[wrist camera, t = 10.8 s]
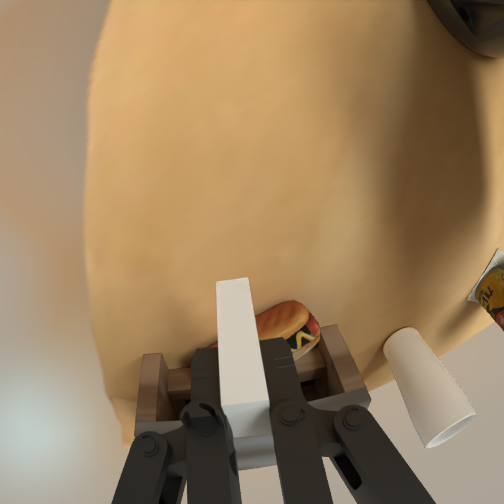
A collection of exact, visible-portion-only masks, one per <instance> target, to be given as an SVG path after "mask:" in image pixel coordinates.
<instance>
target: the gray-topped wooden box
mask: <svg viewBox="0 0 504 504" xmlns="http://www.w3.org/2000/svg"><path fill="white" fill-rule="evenodd" d="M294 362H295V366H296V370H297V374H298V377H299V381H300V382H304V381H308V380H313V379H315V383H314V385H310V386H305V387H301V389H302V393H303V396H304V398H305V400H306V401H307V403H308V404H310V405H311V406H312V407H314V408H317V409H321V410H330V411H339V410H340V409H341V408H343V407H344V406H348V405H360V406H362V407H365V408H366V409H368V407H369V404H370V402H371V398H370V395H369V393H368V391H367V388H366V386H365V384H364V382H363V380H362V377H361V375H360V373H359V371H358V369H357V367H356V364H355V362H354V360H353V358H352V356H351V354H350V351H349V349H348V347H347V345H346V343H345V341H344V339H343V337H342V335H341V333H340V330H339V328H338V326H337V325H332V326H328V327H323V328H320V340H319V341H318V347H313V348H312V349H311V350H309V351H308V352H307V353H306V354H305V355H303V356H301V357H300V358H298V359H297V360H295V361H294ZM191 372H192V371H191V367H190V368H181V369H171V370H169V369H168V367H167V365H166V363H165V361H164V359H163V357H162V355H161V353H155V354H144V355H143V362H142V369H141V376H140V384H139V392H138V401H137V410H136V420H135V431H134V436H135V437H137V436H138V435H139V434H141V433H143V432H146V431H155V432H157V433H159V434H164V433H167V432H170V431H173V430H175V429H178V428H180V427H181V426H182V425H183V423H182V422H181V420H180V418H179V417H180V413H181V411H182V410H183V408H184V407H185V406H186V405H187V404H186V402H185V400H184V399H191ZM233 441H234V447H235V450H236V456H237V466H238V470H246V469H254V468H260V467H266V466H273V465H277V460H276V454H275V449H274V441H273V436H272V433H267V434H260V435H253V436H245V437H236V438H234V437H233Z"/></svg>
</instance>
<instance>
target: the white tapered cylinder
mask: <svg viewBox="0 0 504 504" xmlns="http://www.w3.org/2000/svg"><path fill="white" fill-rule="evenodd" d="M383 353H384V356H385V358H386V359H387V361H388V363H389V365H390V368H391V370H392V372H393V375H394V377H395V379H396V382H397V384H398V387H399V389H400V392H401V394H402V397H403V400H404V402H405V405H406V407H407V410H408V413H409V415H410V418H411V420H412V423H413V425H414V427H415V429H416V431H417V433H418V435H419V437H420V439H421V441H422V443H423V445H424V446H425V448H432V447H435V446H437V445H439V444H441V443H443V442H445V441H446V440H448V439H450V438H451V437H453V436H454V435H456V434H457V433H458V432H460V431H461V430H462V429H464V428H465V427H466V426H467V425H468V424H469V423H470V422H471V421H472V420H473V419H474V418H475V416H476V412H475V411H474V409H473V407H472V405H471V403H470V401H469V399H468V397H467V396H466V394H465V392H464V391H463V389H462V388H461V386H460V385H459V384H458V382H457V381H456V380H455V378H454V377H453V376H452V374H451V373H450V372H449V371H448V370H447V368H446V367H445V366H444V365H443V363H442V362H441V361H440V359H439V358H438V357H437V356H436V354H435V353H434V352H433V351H432V350H431V348H430V347H429V346H428V345H427V343H426V342H425V341H424V340H423V338H422V337H421V335H420V334H419V332H418V331H417V330H416V329H414V328H412V327H406V328H403V329H400V330H398V331H397V332H395V333H394V334H392V335H391V336H390V337H389V338H388V339H387V341H386V342H385V344H384V347H383Z"/></svg>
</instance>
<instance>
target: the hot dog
mask: <svg viewBox="0 0 504 504" xmlns="http://www.w3.org/2000/svg"><path fill="white" fill-rule="evenodd" d="M255 322H256V328H257V334H258V340H265V339H271V338H277V337H283V338H284V339H285V340H286V341H287V342H288V344H289V345H290V347H291V351H292V355H293V358H294V361H295V360H297V359H298V358H300V357H301V356H303V355H305V354H306V353H307V352H308V351H309V350H311V349H312V348H313V347H314V346H315V345H316V344H317V342H318V341H319V340H320V328H319V324H318V322H317V321H316V319H315V318H314V316H313V315H312V314H311V313H310V312H309V310H308V309H307V308H306V307H305V306H304V305H303V304H302V303H299V302H297V301H295V300H292V301H287V302H283V303H280V304H278V305H276V306H275V307H273V308H271V309H269V310H267V311H265V312H263V313H261V314H260V315H258V316H256V317H255ZM211 347H218V341H217V342H216V343H215V344H213V345H212V346H211ZM209 348H210V347H209Z"/></svg>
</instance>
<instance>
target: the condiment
mask: <svg viewBox="0 0 504 504" xmlns="http://www.w3.org/2000/svg"><path fill="white" fill-rule="evenodd" d="M496 263H497V264H496ZM494 265H495V266H494ZM467 301H472V302H476V303H480V304H481V305H482V307H484V309H485V310H486V311H487V312H488V313H489V314H490V316H491V317H492V318H493V319H494V320H495V322H496V323H497V324H498V325H499V326H500V327H501V328H502V329H503V331H504V252H502V251H501V250H499V249H498V250H497V251H496V254H495V255H494V257H493V258H492V261H491V262H490V264H489V265H488V267H487V269H486V270H485V272H484V273H483V275H482V276H481V278H480V279H479V281H478V283H477V284H476V286H475V287H474V289H473V290H472V292H471V293H470V295H469V297H468V298H467Z"/></svg>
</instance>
